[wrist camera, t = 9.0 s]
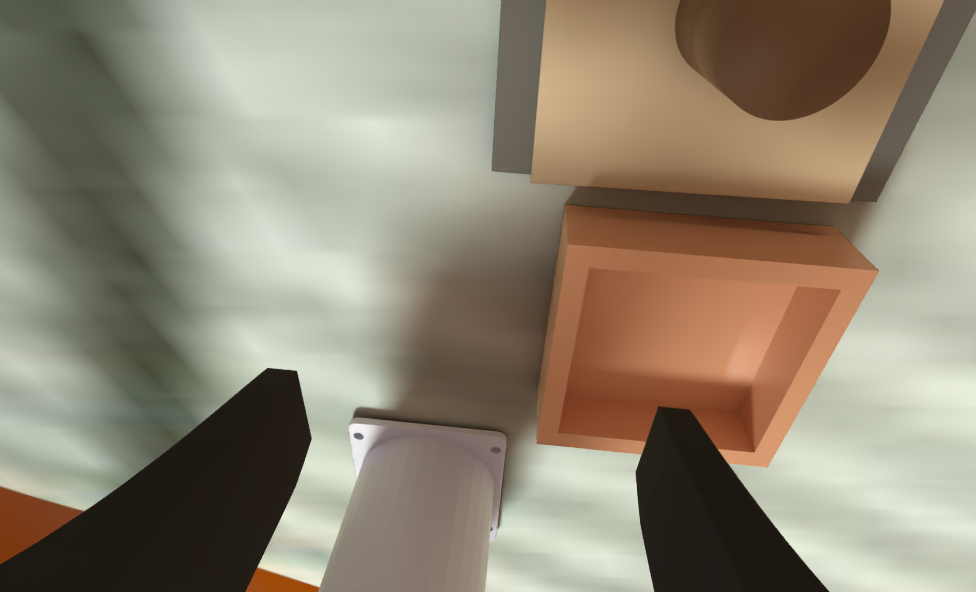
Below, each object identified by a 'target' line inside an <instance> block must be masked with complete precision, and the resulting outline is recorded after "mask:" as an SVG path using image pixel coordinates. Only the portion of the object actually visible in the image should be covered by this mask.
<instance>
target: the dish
mask: <svg viewBox="0 0 976 592" xmlns="http://www.w3.org/2000/svg"><path fill="white" fill-rule="evenodd" d="M878 272H879V270H878V269H877V268H876V267H875V266H874V265H873V264H872V263H871V262H870V261H869V260H867V259H866V258H865V257H864V256H863V255H862V254H861V253H860V252H859V251H858V250H857V249H856V248H855V247H854V246H853V245H852V244H851V243H850V242H849V241H848V240H847V239H846V238H845V237H844V236H843V235H842V234H841V233H840V232H839V231H838V230H837V229H836V228H835V227H830V226H818V225H806V224H794V223H782V222H769V221H757V220H745V219H733V218H721V217H709V216H697V215H684V214H672V213H660V212H648V211H636V210H624V209H612V208H599V207H587V206H575V205H564V212H563V218H562V225H561V232H560V239H559V246H558V253H557V259H556V266H555V273H554V280H553V287H552V294H551V301H550V307H549V314H548V321H547V328H546V335H545V342H544V349H543V355H542V362H541V369H540V376H539V383H538V390H537V444H545V445H555V446H565V447H575V448H585V449H594V450H604V451H614V452H624V453H634V454H642V452H643V449H644V446H645V443H646V440H647V438H648V435H649V432H650V429H651V426H652V423H653V420H654V417H655V414H656V411H657V408H658V406H660V407H670V408H681V409H690V410H691V412H692V413H693V414H694V415H695V417H696V418H697V420H698V421H699V423H700V424H701V425H702V427H703V428H704V430H705V431H706V433H707V434H708V436H709V437H710V439H711V440H712V441H713V443H714V444H715V446H716V447H717V449H718V450H719V451H720V453H721V454H722V456H723V457H724V459H725V460H726V461H727V463H732V464H741V465H751V466H761V467H768V466H769V464H770V462H771V460H772V459H773V457H774V455H775V453H776V452H777V450H778V448H779V446H780V445H781V443H782V441H783V439H784V438H785V436H786V434H787V432H788V431H789V429H790V427H791V425H792V423H793V422H794V420H795V418H796V416H797V415H798V413H799V411H800V409H801V408H802V406H803V404H804V402H805V401H806V399H807V397H808V395H809V394H810V392H811V390H812V388H813V387H814V385H815V383H816V381H817V379H818V378H819V376H820V374H821V372H822V371H823V369H824V367H825V365H826V364H827V362H828V360H829V358H830V357H831V355H832V353H833V351H834V350H835V348H836V346H837V344H838V343H839V341H840V339H841V337H842V336H843V334H844V332H845V330H846V328H847V327H848V325H849V323H850V321H851V320H852V318H853V316H854V314H855V313H856V311H857V309H858V307H859V306H860V304H861V302H862V300H863V299H864V297H865V295H866V293H867V292H868V290H869V288H870V286H871V284H872V283H873V281H874V279H875V277H876V276H877V274H878Z"/></svg>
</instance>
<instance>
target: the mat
mask: <svg viewBox="0 0 976 592" xmlns="http://www.w3.org/2000/svg"><path fill="white" fill-rule="evenodd" d="M545 9H546V0H501V15H500V33H499V50H498V68H497V86H496V104H495V121H494V139H493V157H492V171H496V172H508V173H521V174H531V171H532V160H533V148H534V137H535V125H536V113H537V102H538V90H539V79H540V67H541V55H542V44H543V32H544V21H545ZM975 10H976V0H944V2H943V4H942V6H941V8H940V11H939V13H938V15H937V17H936V19H935V21H934V23H933V26H932V28H931V30H930V32H929V34H928V36H927V38H926V40H925V43H924V45H923V47H922V49H921V51H920V53H919V55H918V58H917V60H916V62H915V64H914V66H913V68H912V70H911V72H910V75H909V77H908V79H907V81H906V83H905V85H904V87H903V90H902V92H901V94H900V96H899V98H898V100H897V102H896V104H895V107H894V109H893V111H892V113H891V115H890V117H889V119H888V122H887V124H886V126H885V128H884V130H883V132H882V134H881V136H880V139H879V141H878V143H877V145H876V147H875V149H874V151H873V154H872V156H871V158H870V160H869V162H868V164H867V166H866V168H865V171H864V173H863V175H862V177H861V179H860V181H859V183H858V186H857V188H856V190H855V192H854V194H853V196H852V198H851V200H858V201H870V202H877V200H878V198H879V196H880V194H881V192H882V190H883V188H884V186H885V184H886V182H887V180H888V178H889V176H890V174H891V173H892V171H893V169H894V167H895V165H896V163H897V161H898V159H899V157H900V155H901V153H902V151H903V149H904V147H905V146H906V144H907V142H908V140H909V138H910V136H911V134H912V132H913V130H914V128H915V126H916V124H917V122H918V120H919V118H920V117H921V115H922V113H923V111H924V109H925V107H926V105H927V103H928V101H929V99H930V97H931V95H932V93H933V91H934V90H935V88H936V86H937V84H938V82H939V80H940V78H941V76H942V74H943V72H944V70H945V68H946V66H947V64H948V63H949V61H950V59H951V57H952V55H953V53H954V51H955V49H956V47H957V45H958V43H959V41H960V39H961V37H962V35H963V34H964V32H965V30H966V28H967V26H968V24H969V22H970V20H971V18H972V16H973V14H974V12H975Z"/></svg>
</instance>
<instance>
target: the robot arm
mask: <svg viewBox="0 0 976 592" xmlns="http://www.w3.org/2000/svg"><path fill="white" fill-rule="evenodd" d="M348 430H349V436H350V443H351V449H352V456H353V462H354V469H355V475H356V483H355V486H354V489H353V492H352V495H351V498H350V501H349V504H348V507H347V510H346V513H345V515H344V518H343V521H342V524H341V527H340V530H339V533H338V536H337V539H336V542H335V545H334V547H333V550H332V553H331V556H330V559H329V562H328V565H327V568H326V571H325V574H324V577H323V579H322V582H321V585H320V588H319V591H318V592H485V586H486V574H487V563H488V551H489V542H493V541H495V540H496V535H497V526H498V516H499V507H500V498H501V488H502V479H503V469H504V460H505V451H506V440H507V439H506V436H505V435H504V434H503V433H501V432H497V431H487V430H478V429H468V428H458V427H448V426H438V425H428V424H418V423H408V422H399V421H389V420H379V419H369V418H353V419H352V420H351V421H350V423H349V426H348ZM311 439H312V438H311V433H310V429H309V424H308V420H307V415H306V410H305V406H304V401H303V397H302V392H301V387H300V383H299V378H298V374H297V371H293V370H283V369H272V368H267V369H266V370H264V371H263V372H262V373H261V374H260V375H258V376H257V377H256V378H255V379H253V380H252V381H251V382H250V383H249V384H247V385H246V386H245V387H244V388H243V389H241V390H240V391H239V392H238V393H237V394H235V395H234V396H233V397H232V398H231V399H230V400H228V401H227V402H226V403H225V404H224V405H222V406H221V407H220V408H219V409H218V410H216V411H215V412H214V413H213V414H212V415H210V416H209V417H208V418H207V419H206V420H204V421H203V422H202V423H201V424H200V425H198V426H197V427H196V428H195V429H193V430H192V431H191V432H190V433H188V434H187V435H186V436H185V437H184V438H182V439H181V440H180V441H179V442H177V443H176V444H175V445H174V446H172V447H171V448H170V449H169V450H167V451H166V452H165V453H164V454H162V455H161V456H160V457H158V458H157V459H156V460H154V461H153V462H152V463H150V464H149V465H148V466H146V467H145V468H144V469H143V470H141V471H140V472H139V473H137V474H136V475H135V476H133V477H132V478H131V479H129V480H128V481H127V482H125V483H124V484H123V485H121V486H120V487H119V488H117V489H116V490H114V491H113V492H112V493H110V494H109V495H107V496H106V497H105V498H103V499H102V500H100V501H99V502H97V503H96V504H95V505H93V506H92V507H90V508H89V509H87V510H86V511H84V512H83V513H81V514H80V515H78V516H77V517H75V518H74V519H72V520H71V521H69V522H68V523H66V524H65V525H63V526H62V527H60V528H59V529H57V530H56V531H54V532H53V533H51V534H49V535H48V536H46V537H45V538H43V539H42V540H40V541H39V542H37V543H35V544H34V545H32V546H31V547H29V548H27V549H25V550H24V551H22V552H20V553H19V554H17V555H15V556H14V557H12V558H10V559H9V560H7V561H5V562H4V563H2V564H0V592H245V591H246V589H247V587H248V585H249V583H250V581H251V579H252V577H253V575H254V573H255V571H256V568H257V567H258V564H259V562H260V560H261V558H262V556H263V554H264V552H265V550H266V548H267V546H268V544H269V542H270V540H271V537H272V535H273V533H274V531H275V529H276V527H277V525H278V523H279V521H280V519H281V517H282V514H283V512H284V510H285V508H286V506H287V504H288V502H289V500H290V498H291V495H292V493H293V491H294V489H295V487H296V484H297V481H298V478H299V475H300V473H301V470H302V467H303V464H304V461H305V458H306V455H307V452H308V449H309V445H310V442H311ZM636 482H637V495H638V506H639V516H640V524H641V529H642V535H643V540H644V544H645V549H646V554H647V559H648V564H649V569H650V573H651V578H652V583H653V588H654V592H829V591H828V590H827V588H826V587H825V586H824V585H823V584H822V583H821V582H820V580H819V579H818V578H817V577H816V576H815V575H814V573H813V572H812V571H811V570H810V569H809V568H808V566H807V565H806V564H805V563H804V562H803V560H802V559H801V558H800V557H799V555H798V554H797V553H796V552H795V551H794V549H793V548H792V547H791V546H790V545H789V543H788V542H787V541H786V540H785V538H784V537H783V536H782V535H781V533H780V532H779V531H778V530H777V528H776V527H775V526H774V525H773V523H772V522H771V521H770V519H769V518H768V517H767V515H766V514H765V513H764V511H763V510H762V509H761V508H760V506H759V505H758V504H757V502H756V501H755V500H754V498H753V497H752V496H751V494H750V493H749V492H748V490H747V489H746V488H745V486H744V485H743V484H742V482H741V481H740V480H739V478H738V477H737V475H736V474H735V473H734V471H733V470H732V468H731V467H730V466H729V464H728V463H727V461H726V460H725V459H724V457H723V456H722V454H721V453H720V451H719V450H718V449H717V447H716V446H715V444H714V443H713V441H712V440H711V439H710V437H709V436H708V434H707V433H706V431H705V430H704V428H703V427H702V425H701V424H700V423H699V421H698V420H697V418H696V417H695V415H694V414H693V413H692V412H691V410H690V409H681V408H670V407H660V406H658V408H657V411H656V414H655V417H654V420H653V423H652V426H651V429H650V432H649V435H648V438H647V440H646V443H645V446H644V449H643V452H642V455H641V458H640V461H639V464H638V467H637V470H636Z"/></svg>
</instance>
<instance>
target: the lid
mask: <svg viewBox="0 0 976 592" xmlns="http://www.w3.org/2000/svg"><path fill="white" fill-rule="evenodd" d="M943 2H944V0H546V9H545V21H544V32H543V44H542V55H541V67H540V79H539V90H538V102H537V113H536V125H535V137H534V148H533V160H532V171H531V183H543V184H559V185H574V186H589V187H604V188H619V189H634V190H649V191H664V192H680V193H695V194H710V195H725V196H740V197H755V198H770V199H785V200H801V201H816V202H831V203H846V204H849V203H850V200H851V198H852V196H853V194H854V192H855V190H856V188H857V186H858V183H859V181H860V179H861V177H862V175H863V173H864V171H865V168H866V166H867V164H868V162H869V160H870V158H871V156H872V154H873V151H874V149H875V147H876V145H877V143H878V141H879V139H880V136H881V134H882V132H883V130H884V128H885V126H886V124H887V122H888V119H889V117H890V115H891V113H892V111H893V109H894V107H895V104H896V102H897V100H898V98H899V96H900V94H901V92H902V90H903V87H904V85H905V83H906V81H907V79H908V77H909V75H910V72H911V70H912V68H913V66H914V64H915V62H916V60H917V58H918V55H919V53H920V51H921V49H922V47H923V45H924V43H925V40H926V38H927V36H928V34H929V32H930V30H931V28H932V26H933V23H934V21H935V19H936V17H937V15H938V13H939V11H940V8H941V6H942V4H943Z"/></svg>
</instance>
